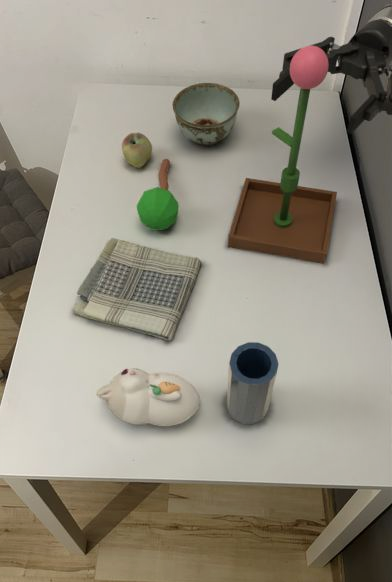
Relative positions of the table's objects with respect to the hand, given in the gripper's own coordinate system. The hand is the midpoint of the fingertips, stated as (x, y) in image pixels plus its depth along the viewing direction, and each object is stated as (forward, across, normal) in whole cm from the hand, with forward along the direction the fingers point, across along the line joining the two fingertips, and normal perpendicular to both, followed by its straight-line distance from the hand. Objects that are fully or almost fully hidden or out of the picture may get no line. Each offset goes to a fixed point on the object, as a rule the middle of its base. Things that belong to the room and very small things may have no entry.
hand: (311, 108), depth 76 cm
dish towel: (+31, +12, -22) cm, 40 cm away
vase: (+37, -16, -22) cm, 46 cm away
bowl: (-8, +27, -23) cm, 36 cm away
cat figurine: (+46, -5, -22) cm, 52 cm away
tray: (+3, 0, -22) cm, 23 cm away
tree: (+12, +22, -23) cm, 34 cm away
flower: (+3, +1, -22) cm, 22 cm away
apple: (+6, +34, -23) cm, 41 cm away
